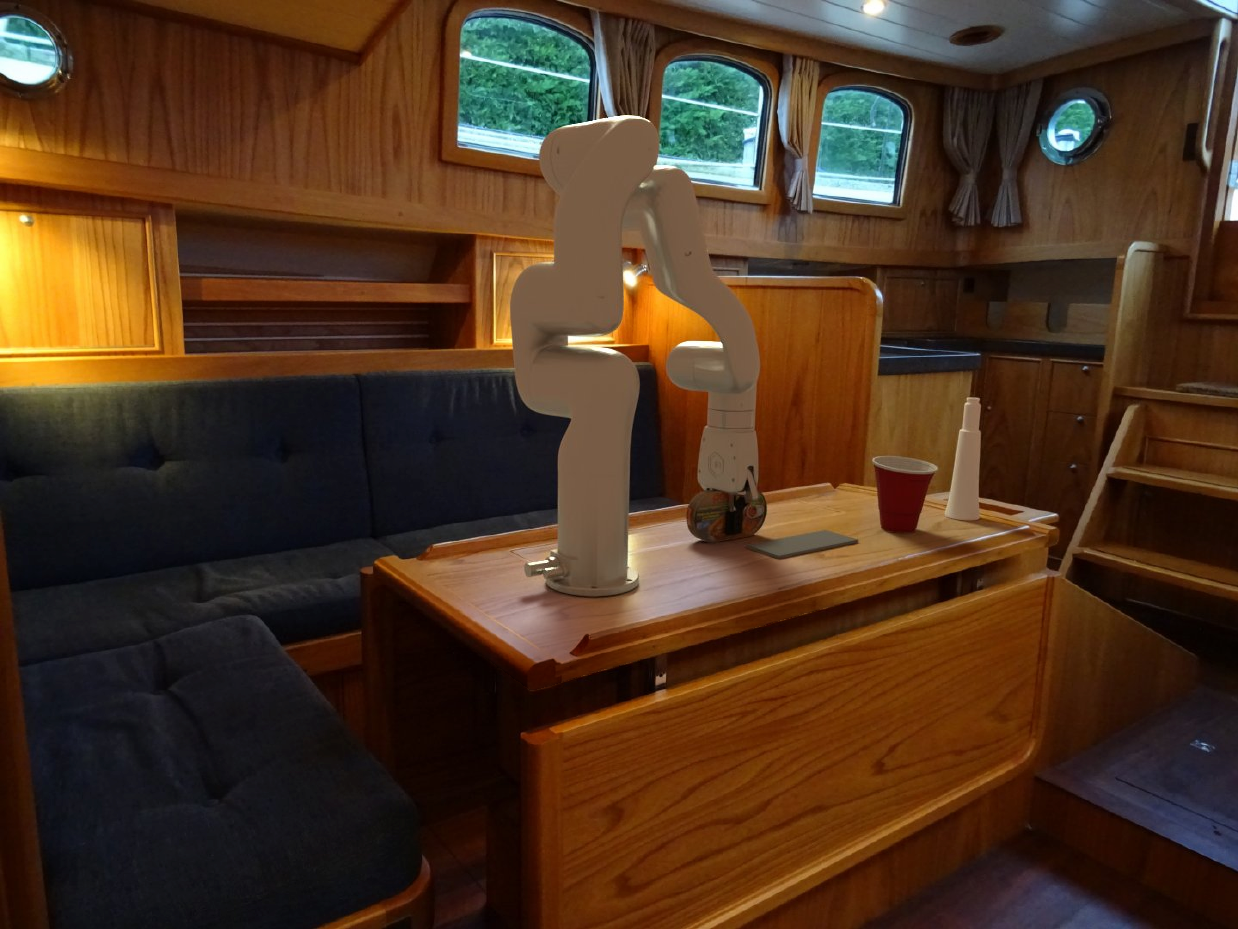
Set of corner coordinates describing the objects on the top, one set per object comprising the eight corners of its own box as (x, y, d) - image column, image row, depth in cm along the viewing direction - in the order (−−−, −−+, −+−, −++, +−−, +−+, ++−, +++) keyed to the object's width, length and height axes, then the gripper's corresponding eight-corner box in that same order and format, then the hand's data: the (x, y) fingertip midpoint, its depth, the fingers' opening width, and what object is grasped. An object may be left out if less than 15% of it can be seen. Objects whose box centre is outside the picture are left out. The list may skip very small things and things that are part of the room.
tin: (693, 546, 134) (696, 494, 133) (681, 540, 137) (684, 489, 135) (766, 534, 142) (770, 485, 140) (754, 529, 145) (757, 481, 143)
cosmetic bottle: (941, 517, 156) (952, 398, 152) (947, 511, 161) (958, 395, 157) (977, 522, 153) (989, 400, 149) (981, 515, 158) (993, 397, 154)
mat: (778, 558, 128) (778, 555, 128) (746, 547, 134) (746, 544, 134) (858, 542, 138) (858, 539, 138) (825, 532, 144) (825, 529, 144)
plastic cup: (907, 541, 140) (913, 469, 138) (853, 527, 148) (858, 459, 146) (945, 532, 146) (951, 463, 144) (892, 518, 155) (897, 453, 153)
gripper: (680, 415, 140) (677, 523, 144) (748, 428, 127) (742, 547, 131) (715, 413, 145) (711, 518, 148) (784, 424, 131) (778, 540, 135)
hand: (726, 530), depth 139 cm, fingers closed on tin, 2 cm apart
